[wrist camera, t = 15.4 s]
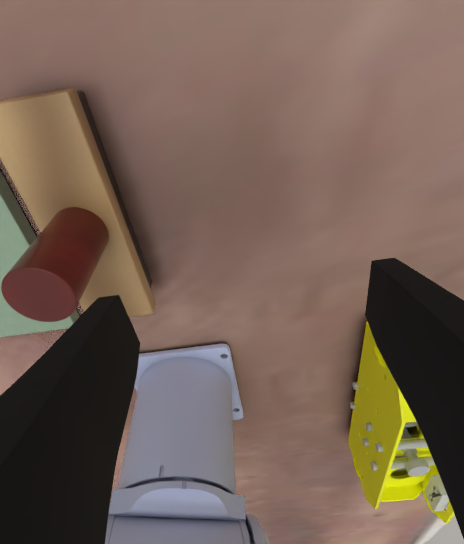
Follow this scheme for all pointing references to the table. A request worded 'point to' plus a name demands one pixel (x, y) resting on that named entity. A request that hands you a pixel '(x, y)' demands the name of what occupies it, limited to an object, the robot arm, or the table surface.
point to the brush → (68, 212)
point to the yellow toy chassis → (390, 440)
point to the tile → (4, 254)
